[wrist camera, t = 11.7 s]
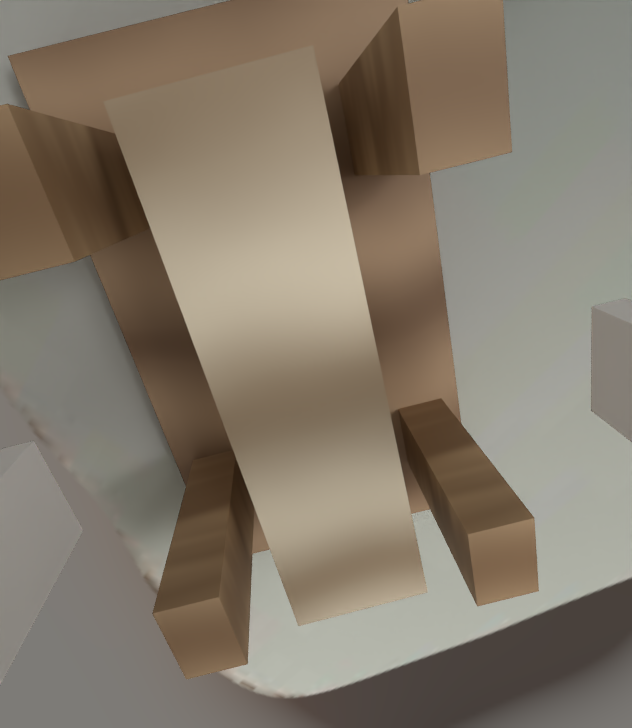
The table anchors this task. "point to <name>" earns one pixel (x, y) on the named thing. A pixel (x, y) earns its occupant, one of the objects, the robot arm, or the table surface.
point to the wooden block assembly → (371, 237)
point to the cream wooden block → (279, 319)
